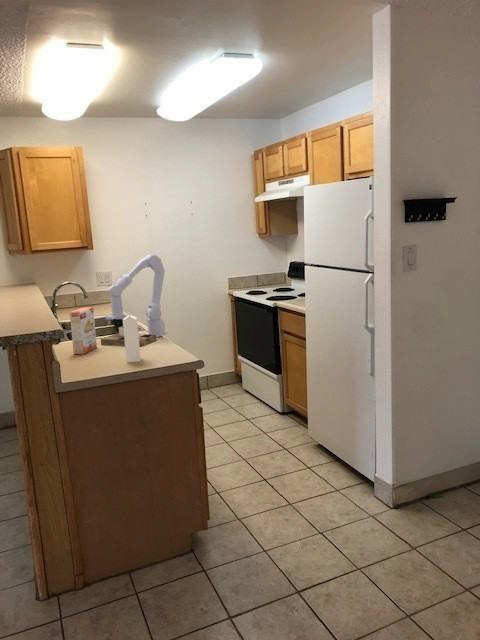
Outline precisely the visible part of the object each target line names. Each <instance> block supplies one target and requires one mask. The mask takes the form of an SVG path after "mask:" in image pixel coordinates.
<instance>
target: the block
mask: <svg viewBox="0 0 480 640" xmlns="http://www.w3.org/2000/svg"><path fill="white" fill-rule="evenodd" d="M119 336H124V329H123V326H122V327H119Z"/></svg>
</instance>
